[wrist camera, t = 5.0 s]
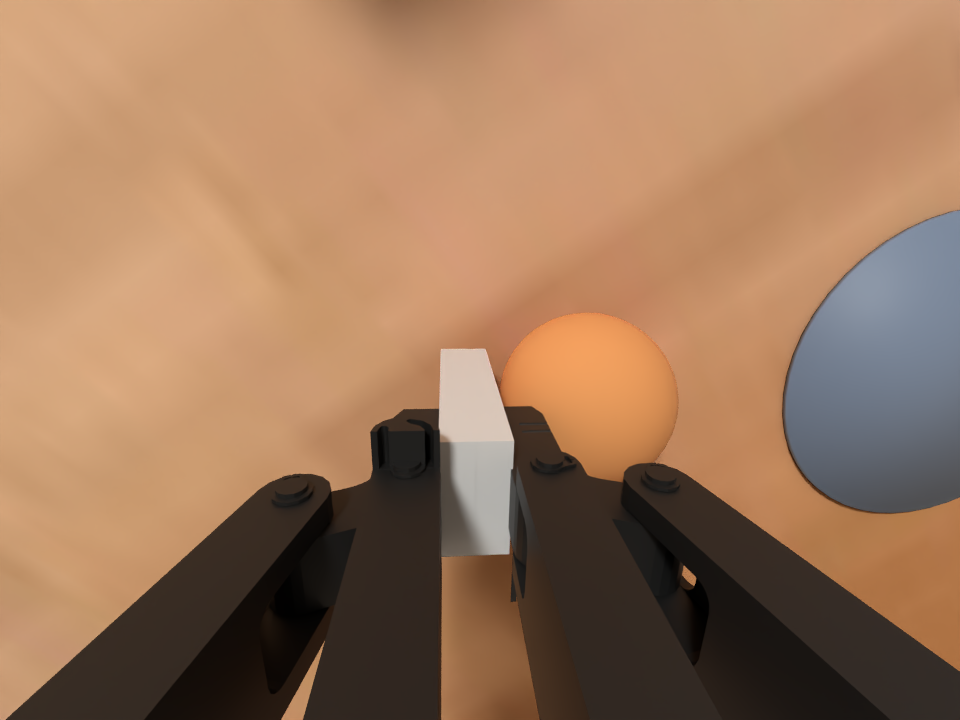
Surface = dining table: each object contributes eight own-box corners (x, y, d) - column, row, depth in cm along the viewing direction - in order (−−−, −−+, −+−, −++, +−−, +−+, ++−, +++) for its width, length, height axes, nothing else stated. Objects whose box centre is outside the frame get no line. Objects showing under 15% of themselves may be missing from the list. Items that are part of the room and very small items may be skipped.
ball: (489, 441, 18) (625, 435, 18) (512, 532, 12) (702, 519, 13) (490, 301, 16) (638, 299, 17) (516, 337, 11) (733, 331, 11)
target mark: (1019, 506, 21) (1024, 508, 21) (753, 514, 20) (756, 516, 20) (1151, 211, 17) (1159, 211, 17) (829, 201, 16) (833, 201, 16)
